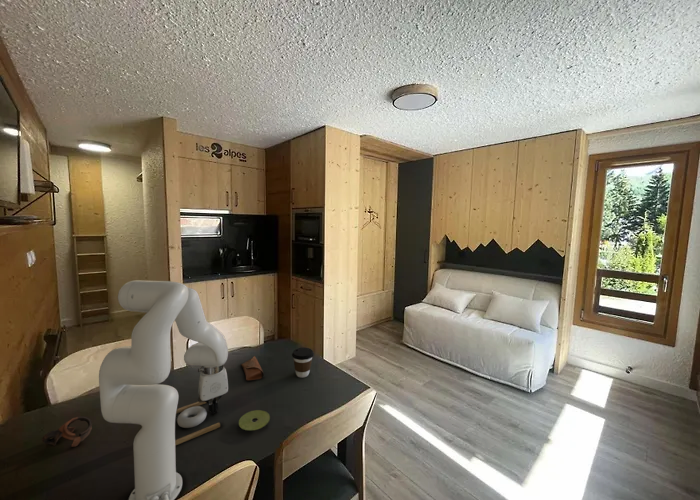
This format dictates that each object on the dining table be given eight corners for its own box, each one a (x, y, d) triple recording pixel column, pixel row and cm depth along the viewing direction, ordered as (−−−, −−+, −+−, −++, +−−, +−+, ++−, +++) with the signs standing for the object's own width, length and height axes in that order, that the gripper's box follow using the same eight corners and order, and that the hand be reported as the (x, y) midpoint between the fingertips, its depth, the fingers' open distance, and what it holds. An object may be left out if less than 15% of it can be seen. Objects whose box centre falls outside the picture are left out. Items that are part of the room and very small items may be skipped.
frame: (220, 427, 108) (220, 424, 108) (166, 449, 97) (166, 446, 97) (205, 401, 122) (205, 398, 122) (157, 418, 111) (157, 415, 111)
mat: (248, 440, 102) (248, 434, 102) (233, 424, 110) (233, 419, 109) (275, 424, 111) (275, 419, 111) (259, 410, 118) (259, 406, 118)
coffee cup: (287, 378, 143) (288, 354, 142) (296, 367, 153) (297, 345, 152) (308, 381, 140) (309, 358, 139) (316, 370, 151) (317, 348, 150)
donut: (170, 428, 106) (195, 431, 105) (170, 419, 106) (195, 423, 105) (189, 411, 116) (212, 414, 115) (189, 403, 116) (212, 405, 114)
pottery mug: (82, 427, 106) (92, 410, 105) (87, 450, 101) (97, 432, 100) (35, 439, 95) (45, 420, 94) (39, 465, 91) (49, 445, 89)
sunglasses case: (239, 364, 153) (246, 352, 155) (251, 368, 157) (257, 356, 158) (246, 381, 138) (253, 368, 139) (259, 385, 141) (266, 372, 143)
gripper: (194, 377, 106) (195, 424, 108) (235, 365, 116) (235, 408, 117) (189, 369, 111) (190, 414, 113) (229, 358, 121) (229, 399, 123)
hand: (213, 411), depth 115 cm, fingers closed
